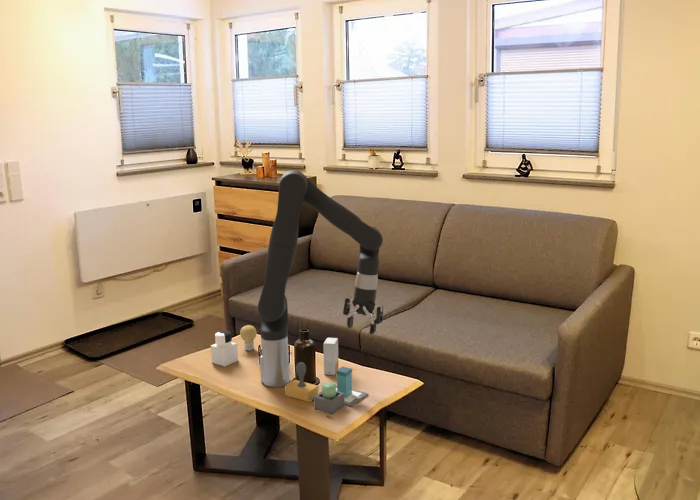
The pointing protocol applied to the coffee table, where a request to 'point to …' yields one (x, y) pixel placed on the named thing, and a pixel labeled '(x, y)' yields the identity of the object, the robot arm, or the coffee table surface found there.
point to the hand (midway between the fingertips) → (360, 330)
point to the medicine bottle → (224, 349)
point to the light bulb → (248, 336)
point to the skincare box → (330, 356)
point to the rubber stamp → (301, 386)
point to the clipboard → (354, 397)
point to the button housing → (329, 403)
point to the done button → (329, 390)
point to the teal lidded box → (344, 381)
